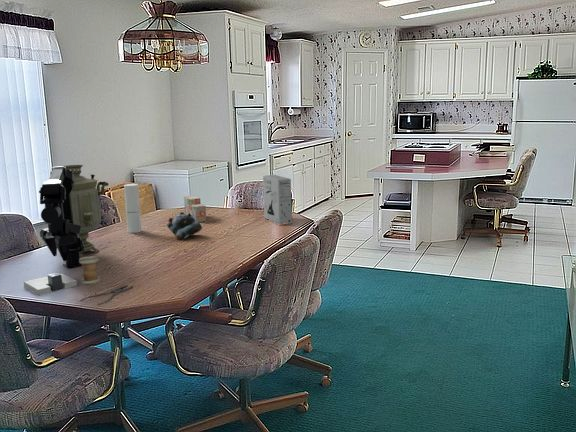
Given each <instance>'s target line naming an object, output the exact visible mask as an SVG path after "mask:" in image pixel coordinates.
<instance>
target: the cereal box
mask: <svg viewBox="0 0 576 432" xmlns="http://www.w3.org/2000/svg"><path fill="white" fill-rule="evenodd" d="M262 185H263V186H262V187H263V189H262V190H263V210H264V211H263V215H264V217H265V218H267V219H269V220H271V221H274V222H276V223H278V224H283V223H292V224H293V218H292V217H293V216H292V179H291V178H290V177H289V178H288V177H285V176H281V175H277V174H268V175H262ZM265 218H264V219H265ZM267 219H266V220H267ZM269 220H268V221H269ZM271 221H270V222H271ZM276 223H275V224H276ZM278 224H277V225H278Z"/></svg>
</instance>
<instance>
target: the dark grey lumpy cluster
mask: <svg viewBox="0 0 576 432" xmlns="http://www.w3.org/2000/svg"><path fill="white" fill-rule="evenodd" d="M166 227H167V228H168V229H169V231H170V232H171V233H172V234H173V235H174V236H175V238H176V239H177V240H178V241H184V240H186V239H187V238H189V237H190V236H192V235H194V234H197V233H199V232H200V231H201V230H203V227H202V224H201V222H195V219H194V218H193V217H192V216H191V214H190V213H188V214H187V215H186V214H185V212H180V213H179V214H176V215H175V216H174V217H169V218H168V223H167V224H166Z"/></svg>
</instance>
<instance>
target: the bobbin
mask: <svg viewBox="0 0 576 432" xmlns="http://www.w3.org/2000/svg"><path fill="white" fill-rule="evenodd" d="M99 261H100V260H99V257H98V256H96V255H95V256H93V255H91V256H83V257H80V259H79V263H81V264H83V265H82V273H83V278H81V279H80V284H82V285H95V284H99V283H100V282H101V277H100V276H98V272H97V271H98V270H97V263H98V262H99Z"/></svg>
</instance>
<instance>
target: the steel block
mask: <svg viewBox="0 0 576 432" xmlns="http://www.w3.org/2000/svg"><path fill="white" fill-rule="evenodd" d="M61 274H62V273H61ZM61 274H60V273H59V272H54V273H48V274H47V276H48V284H49V286H50V287H51V292H57V291H60V290H63V289H64V288H63V285H62V276H61Z"/></svg>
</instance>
